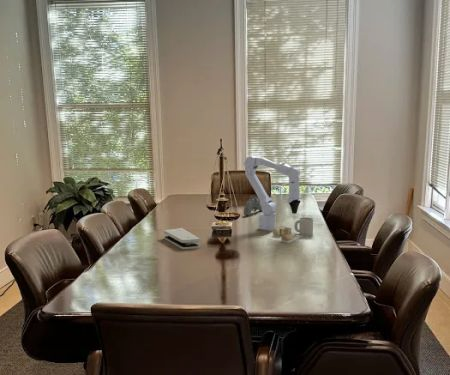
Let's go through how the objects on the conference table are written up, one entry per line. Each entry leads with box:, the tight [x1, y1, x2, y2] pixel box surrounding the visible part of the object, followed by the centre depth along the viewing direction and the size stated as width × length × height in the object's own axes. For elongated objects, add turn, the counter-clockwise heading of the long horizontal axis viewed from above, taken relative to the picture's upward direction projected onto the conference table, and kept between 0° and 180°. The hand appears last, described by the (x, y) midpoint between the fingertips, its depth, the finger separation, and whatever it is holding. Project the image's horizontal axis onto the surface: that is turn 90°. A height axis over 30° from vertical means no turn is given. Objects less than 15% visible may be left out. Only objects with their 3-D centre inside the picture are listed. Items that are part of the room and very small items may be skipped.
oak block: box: [281, 226, 292, 241], centre depth 222 cm, size 4×4×6 cm
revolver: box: [243, 195, 262, 217], centre depth 292 cm, size 5×22×15 cm, turn 148°
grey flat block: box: [162, 227, 201, 250], centre depth 221 cm, size 26×11×5 cm, turn 26°
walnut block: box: [272, 225, 285, 237], centre depth 233 cm, size 4×4×8 cm
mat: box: [259, 231, 304, 243], centre depth 229 cm, size 18×16×1 cm
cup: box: [293, 216, 314, 237], centre depth 234 cm, size 7×10×9 cm
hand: (294, 213), depth 240 cm, fingers closed
